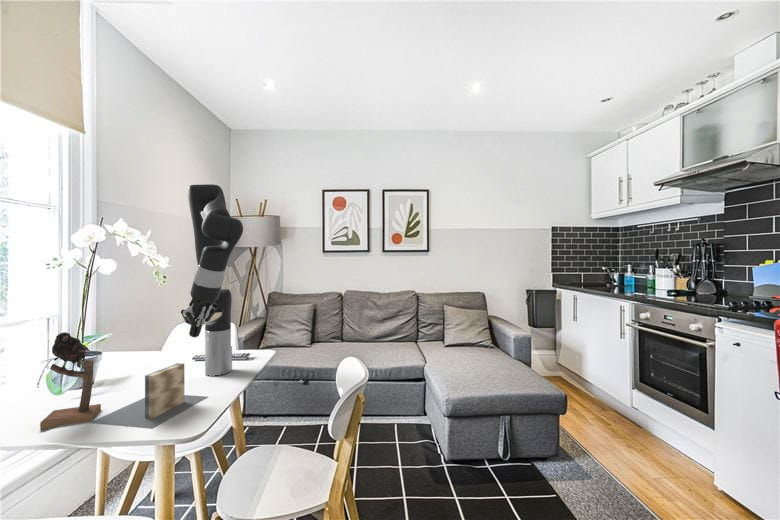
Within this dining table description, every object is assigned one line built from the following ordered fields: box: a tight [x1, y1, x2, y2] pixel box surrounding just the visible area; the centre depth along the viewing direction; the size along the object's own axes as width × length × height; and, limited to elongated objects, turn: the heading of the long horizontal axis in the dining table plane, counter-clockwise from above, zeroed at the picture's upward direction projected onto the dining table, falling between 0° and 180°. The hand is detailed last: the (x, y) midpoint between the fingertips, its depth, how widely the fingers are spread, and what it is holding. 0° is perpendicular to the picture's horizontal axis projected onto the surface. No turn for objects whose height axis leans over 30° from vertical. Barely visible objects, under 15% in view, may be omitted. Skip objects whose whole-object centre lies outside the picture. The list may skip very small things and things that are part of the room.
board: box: [144, 362, 185, 419], centre depth 104 cm, size 12×2×12 cm, turn 170°
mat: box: [89, 394, 209, 429], centre depth 105 cm, size 22×20×1 cm
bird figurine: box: [39, 332, 102, 431], centre depth 101 cm, size 11×14×25 cm
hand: (193, 336), depth 104 cm, fingers closed
